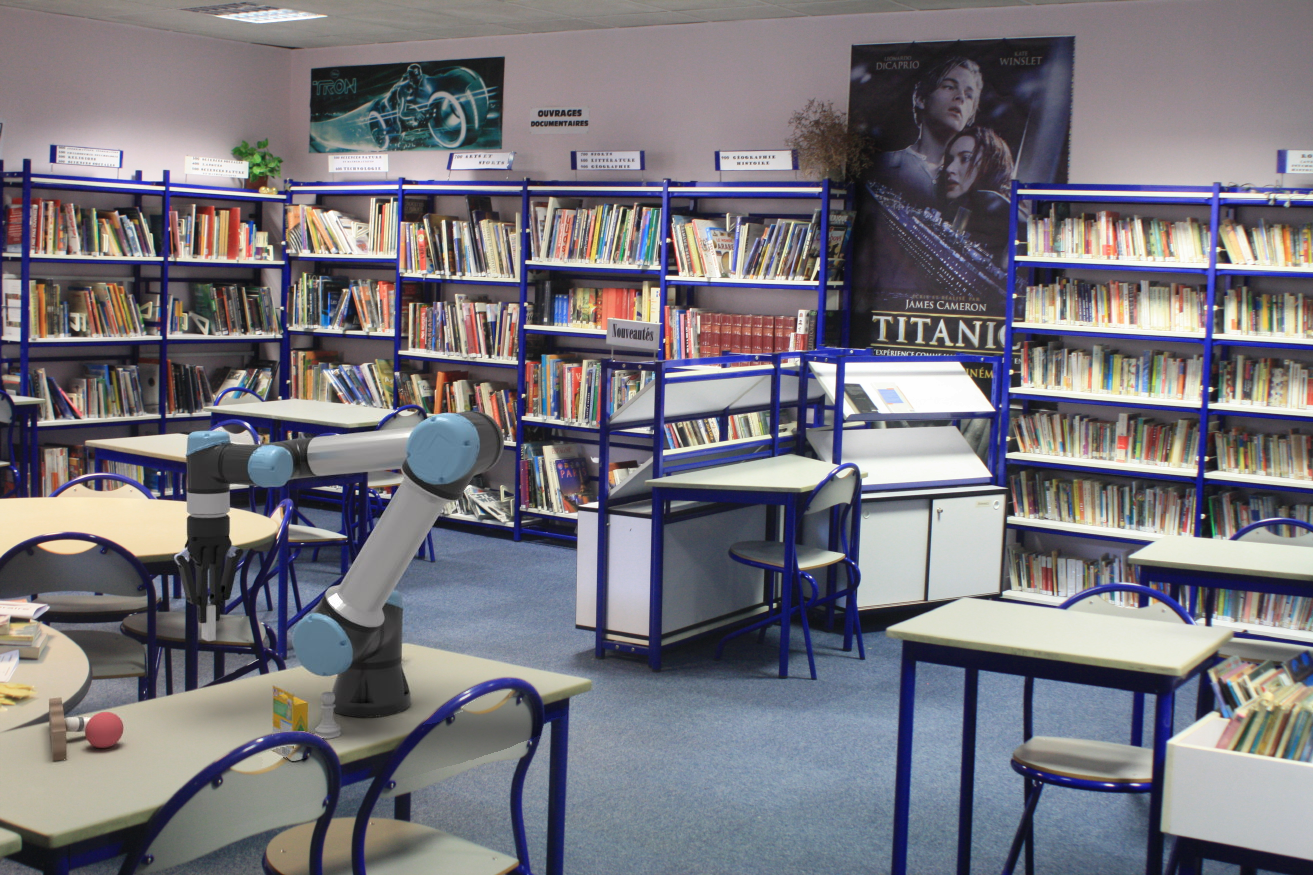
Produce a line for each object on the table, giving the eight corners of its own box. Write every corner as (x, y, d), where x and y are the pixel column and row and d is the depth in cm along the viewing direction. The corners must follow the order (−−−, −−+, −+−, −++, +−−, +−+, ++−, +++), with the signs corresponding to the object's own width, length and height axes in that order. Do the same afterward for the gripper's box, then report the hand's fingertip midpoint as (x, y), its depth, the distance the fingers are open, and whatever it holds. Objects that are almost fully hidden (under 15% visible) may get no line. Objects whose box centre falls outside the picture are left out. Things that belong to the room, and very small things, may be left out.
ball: (126, 708, 209) (113, 739, 205) (130, 725, 214) (118, 756, 209) (90, 702, 209) (76, 733, 205) (95, 720, 213) (82, 751, 209)
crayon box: (308, 758, 207) (309, 691, 206) (292, 762, 204) (292, 694, 204) (287, 747, 212) (288, 681, 211) (271, 751, 210) (271, 684, 209)
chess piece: (346, 733, 220) (346, 689, 219) (331, 740, 216) (331, 696, 215) (324, 729, 222) (324, 686, 221) (308, 737, 217) (308, 693, 217)
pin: (122, 720, 217) (71, 720, 210) (118, 733, 217) (67, 734, 210) (116, 714, 219) (66, 714, 212) (113, 727, 219) (62, 728, 212)
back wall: (66, 759, 203) (66, 730, 202) (53, 761, 202) (52, 731, 201) (61, 724, 220) (61, 697, 220) (49, 725, 219) (49, 698, 219)
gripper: (232, 509, 234) (232, 630, 236) (165, 514, 225) (165, 640, 227) (251, 513, 229) (250, 637, 231) (182, 519, 220) (183, 648, 222)
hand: (208, 638), depth 229 cm, fingers closed
